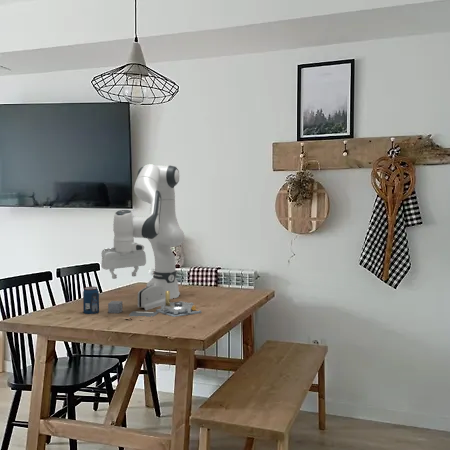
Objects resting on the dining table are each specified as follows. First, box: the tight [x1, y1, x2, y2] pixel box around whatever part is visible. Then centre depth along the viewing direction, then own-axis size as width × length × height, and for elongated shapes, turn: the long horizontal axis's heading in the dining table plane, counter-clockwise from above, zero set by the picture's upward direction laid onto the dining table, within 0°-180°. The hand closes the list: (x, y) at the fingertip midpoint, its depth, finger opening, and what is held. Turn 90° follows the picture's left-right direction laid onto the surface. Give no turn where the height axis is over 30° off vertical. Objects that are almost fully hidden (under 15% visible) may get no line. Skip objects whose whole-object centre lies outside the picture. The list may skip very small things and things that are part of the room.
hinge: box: [137, 286, 165, 312], centre depth 248 cm, size 17×5×10 cm, turn 147°
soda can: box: [82, 286, 100, 315], centre depth 234 cm, size 7×7×12 cm
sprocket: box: [160, 291, 197, 314], centre depth 237 cm, size 16×16×8 cm
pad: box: [128, 310, 159, 318], centre depth 230 cm, size 12×12×1 cm
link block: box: [107, 300, 123, 314], centre depth 236 cm, size 5×5×5 cm
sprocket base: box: [155, 308, 202, 318], centre depth 237 cm, size 15×15×1 cm
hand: (124, 277), depth 231 cm, fingers open, 8 cm apart
